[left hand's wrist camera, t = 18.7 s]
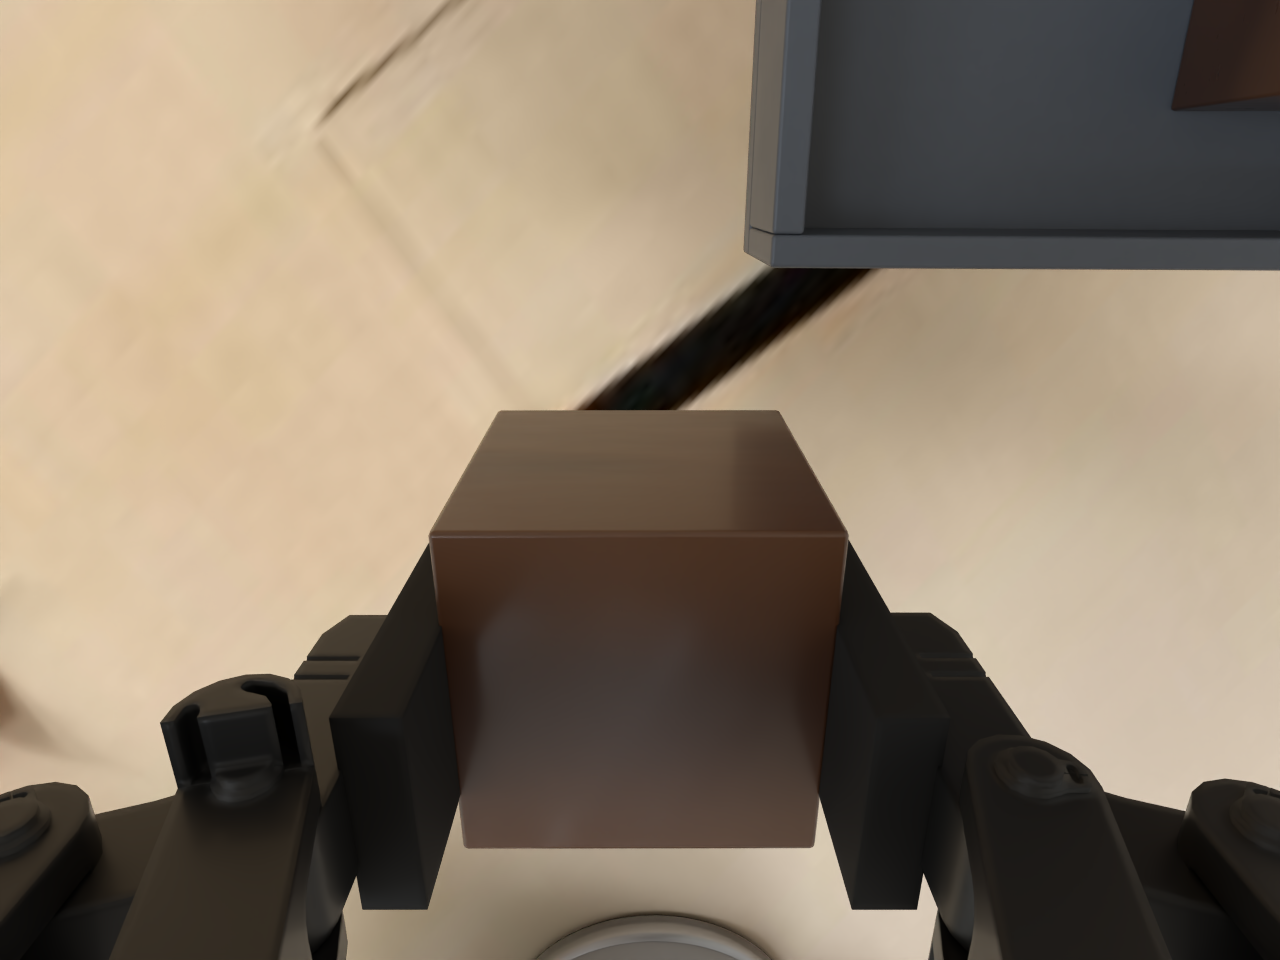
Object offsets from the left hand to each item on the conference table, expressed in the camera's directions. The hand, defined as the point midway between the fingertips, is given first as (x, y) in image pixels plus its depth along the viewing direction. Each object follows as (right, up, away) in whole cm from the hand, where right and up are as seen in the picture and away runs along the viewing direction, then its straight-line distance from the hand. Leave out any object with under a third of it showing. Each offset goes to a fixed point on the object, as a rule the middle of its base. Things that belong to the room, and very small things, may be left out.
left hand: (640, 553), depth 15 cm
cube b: (0, 0, 0) cm, 0 cm away
